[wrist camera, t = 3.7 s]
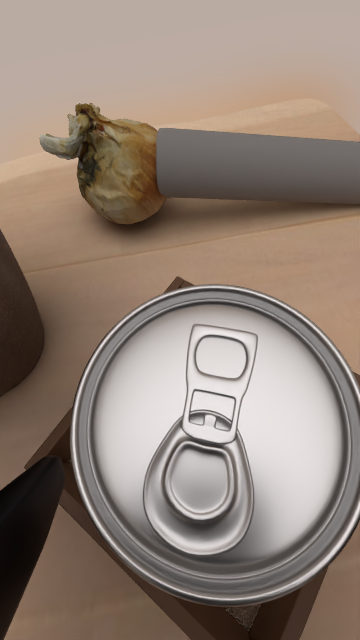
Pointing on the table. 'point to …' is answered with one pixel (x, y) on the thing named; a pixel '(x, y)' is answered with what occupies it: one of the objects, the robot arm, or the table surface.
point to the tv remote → (256, 167)
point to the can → (219, 445)
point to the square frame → (194, 619)
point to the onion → (112, 164)
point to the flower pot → (16, 322)
